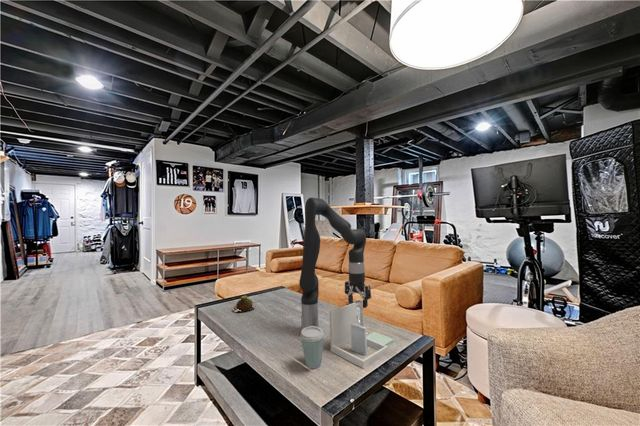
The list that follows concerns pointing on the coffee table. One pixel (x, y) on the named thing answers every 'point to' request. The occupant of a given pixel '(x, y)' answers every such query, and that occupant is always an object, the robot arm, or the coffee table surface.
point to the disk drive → (358, 311)
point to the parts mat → (380, 338)
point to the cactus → (244, 304)
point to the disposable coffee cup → (312, 345)
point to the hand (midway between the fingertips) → (357, 305)
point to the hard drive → (358, 339)
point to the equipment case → (342, 336)
